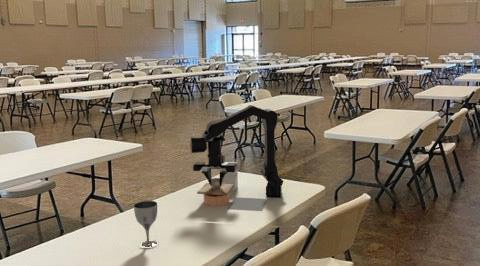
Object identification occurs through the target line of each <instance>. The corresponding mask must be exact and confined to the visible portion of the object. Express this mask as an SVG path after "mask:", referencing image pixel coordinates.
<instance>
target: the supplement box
mask: <svg viewBox="0 0 480 266" xmlns="http://www.w3.org/2000/svg"><path fill="white" fill-rule="evenodd" d="M228 163H236V164H237V165H238V162H237V161H225V163H223V164H222V165H227V164H228ZM220 172H221V169H219V173H220ZM238 175H239V174H238V169H237V170H236V171H235V172H227V174H225V176H224V179H223V182H222V184H234V187H233V188H232V189H231V190H230V192H235V191H236V190H237V189H238V187H239V182H238V181H239V180H238Z"/></svg>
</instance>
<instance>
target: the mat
mask: <svg viewBox="0 0 480 266" xmlns="http://www.w3.org/2000/svg"><path fill="white" fill-rule="evenodd" d="M268 200H269V198H259V197H258V198H256V197H255V198H254V197H240V196H239V197H237V196H236V197H234V198H233V200H232V201H231V202H230V204H229V206H228V207H227V209H226V210H236V211H252V212H263V210H264V208H265V207H266V205H267V202H268Z"/></svg>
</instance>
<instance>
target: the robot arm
mask: <svg viewBox="0 0 480 266" xmlns="http://www.w3.org/2000/svg"><path fill="white" fill-rule="evenodd" d="M252 116H254V117H258V118H260V119H261V123H262V126H263V129H264V162H263V163H261V164H260V174H261V175H262V177H263V178H264V179H265V180H266V186H265V196H266V198H270V199H271V198H273V199H280V198H282V196H283V192H282V190H283V189H282V188H283V187H282V186H283V184H284V180H283V179H282V178H281V177H280V176H279V172H278V168H277V165H276V161H275V160H276V158H275V156H276V155H275V152H276V151H275V131H276V127H277V125H278V118H279V116H278V113H277V112H276V111H274V110H272V109H270V108H266V109H264V108H260V107H256V106H254V105H252V104H249V105H247V106H246V107H244V108H243V109H242V108H241V110H239V111H237V112H235V113H232V114H231V115H228V116H226V117H225V118H220V119H216V120H212V121H210V122H208V123H207V125H206V126H205V127H206V128H205V130H204V132H203V134H202V135H201V136H191V137H190V143H189V148H190V153H191V154H198V153H205V151H206V150H207V159H208V163H207V164H206V162H205V161H196V162H195V163H193V165H192V171H194V172H201V174H203V175H204V176H205V178H206V179H207V181H208V182H207V183H209V184H210V186H211V179H212V178H213V177H212V170H220V169H221V172H220V171H219V178H220V186H222V182H223V179H224V176H225V174H227V172H235V171H236V170H237V171H238V167H239V166H238V163H237V164H236V163H228V164H227V165H222V164H223V163H225V162H226V157H225V155H224V154H223V151H222V142H224V141H226V139H225V137H223V135H222V134H223V133H225V131H227V130H228V129H229V128H230V127H232V126H234V125H236V124H239V123H240V122H242V121H244V120H246V119H248V118H251V117H252Z"/></svg>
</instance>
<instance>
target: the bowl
mask: <svg viewBox="0 0 480 266" xmlns="http://www.w3.org/2000/svg"><path fill="white" fill-rule="evenodd" d="M202 195H203V203H204V204H205V205H208V206H212V207H213V206H215V207H216V206H224V205H227V204H228V203H229V202H230V192H229V193H228V194H227V195H211V194H202Z"/></svg>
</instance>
